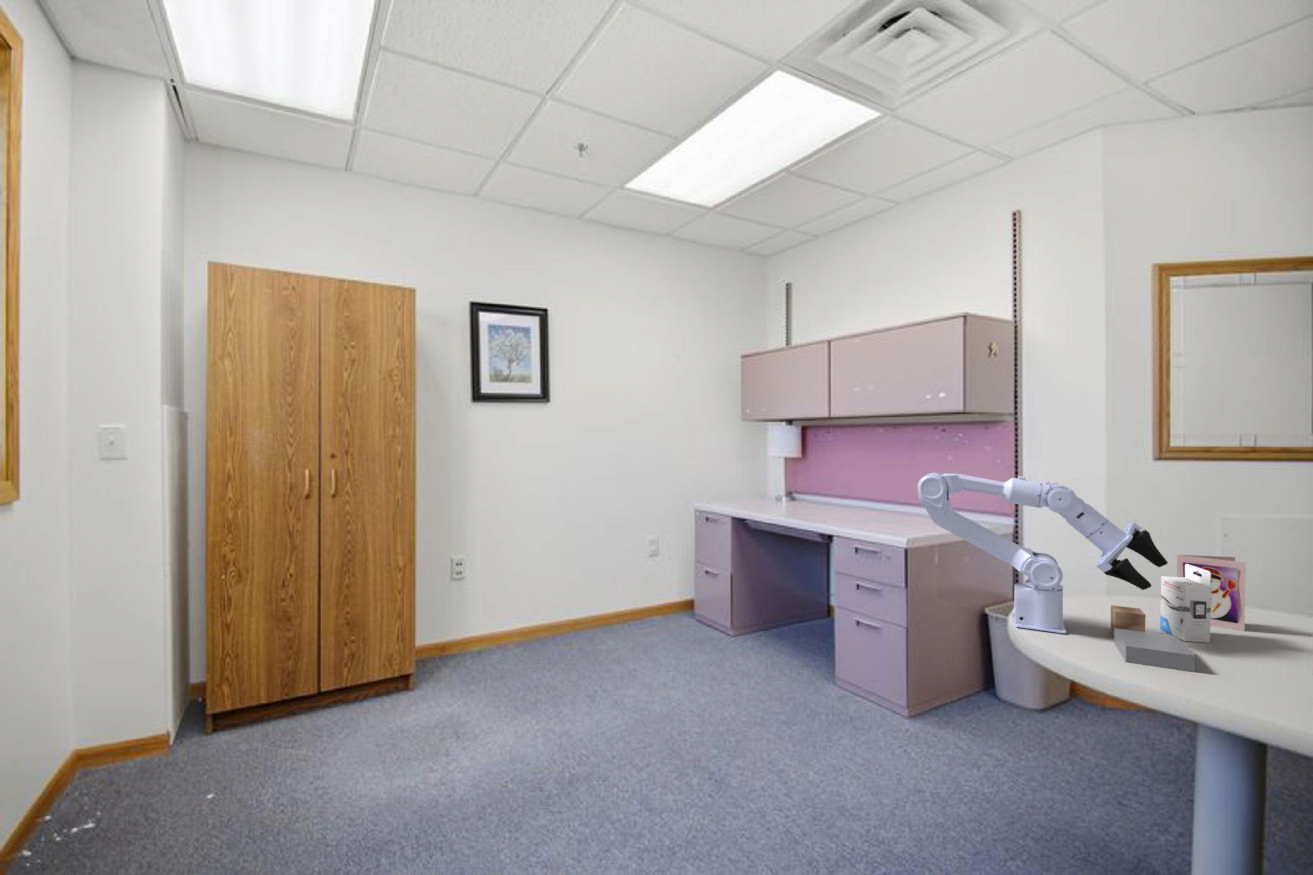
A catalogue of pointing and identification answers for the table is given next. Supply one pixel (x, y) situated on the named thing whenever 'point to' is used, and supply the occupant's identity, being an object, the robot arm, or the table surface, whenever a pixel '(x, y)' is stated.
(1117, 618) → the walnut block
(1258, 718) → the table surface
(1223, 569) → the greeting card
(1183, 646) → the gray rectangular slab
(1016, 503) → the robot arm
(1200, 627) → the ink box
